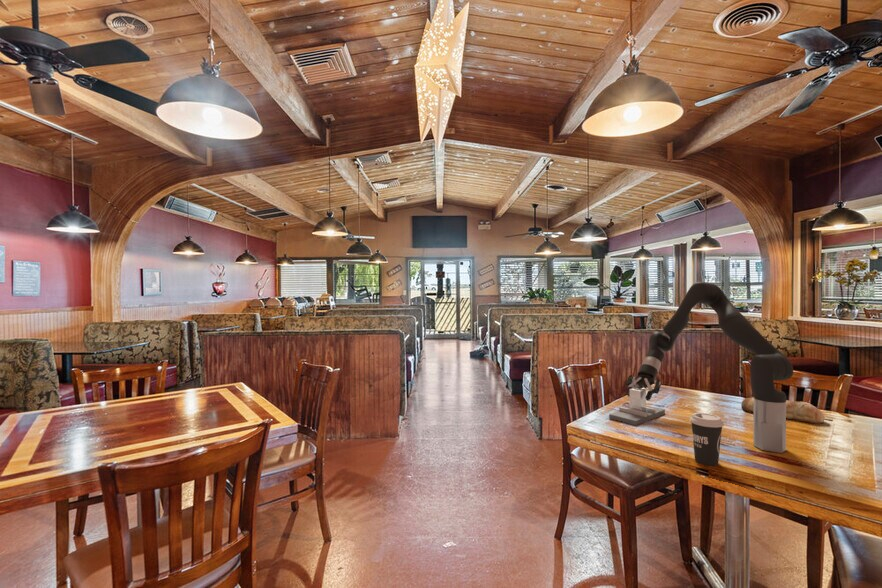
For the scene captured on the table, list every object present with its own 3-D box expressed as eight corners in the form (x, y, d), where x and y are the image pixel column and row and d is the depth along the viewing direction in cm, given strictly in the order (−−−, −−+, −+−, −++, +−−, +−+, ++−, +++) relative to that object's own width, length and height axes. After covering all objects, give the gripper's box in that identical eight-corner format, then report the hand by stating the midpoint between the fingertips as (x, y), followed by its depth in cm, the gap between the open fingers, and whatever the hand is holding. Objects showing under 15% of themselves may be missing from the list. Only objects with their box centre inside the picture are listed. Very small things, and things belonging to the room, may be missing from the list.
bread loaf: (731, 416, 192) (732, 396, 192) (734, 405, 206) (735, 386, 205) (836, 434, 171) (837, 412, 170) (831, 421, 185) (832, 400, 184)
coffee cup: (694, 453, 146) (694, 410, 146) (727, 461, 139) (727, 416, 139) (685, 461, 139) (685, 416, 139) (719, 470, 133) (719, 422, 132)
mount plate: (664, 413, 192) (664, 405, 192) (636, 425, 176) (635, 417, 176) (638, 408, 202) (638, 400, 202) (609, 418, 186) (609, 410, 186)
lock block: (646, 411, 188) (646, 389, 188) (640, 414, 185) (640, 391, 185) (635, 409, 192) (635, 387, 192) (629, 411, 189) (629, 388, 189)
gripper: (631, 361, 200) (619, 389, 193) (662, 365, 188) (650, 395, 181) (637, 371, 203) (625, 399, 196) (668, 376, 192) (656, 405, 185)
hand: (637, 397), depth 189 cm, fingers open, 8 cm apart
